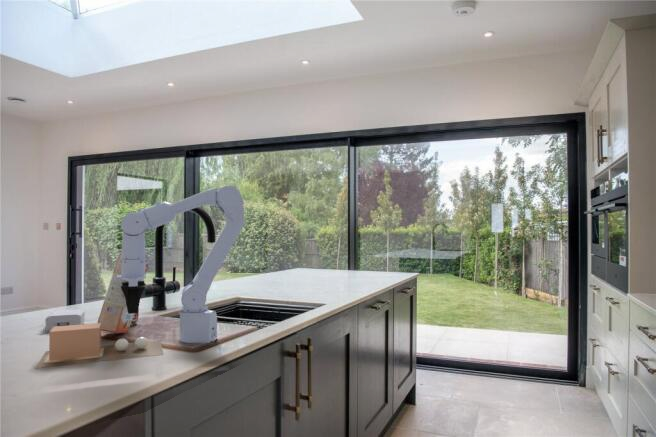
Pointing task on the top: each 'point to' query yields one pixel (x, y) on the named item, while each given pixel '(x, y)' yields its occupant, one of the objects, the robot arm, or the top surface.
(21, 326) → the top surface
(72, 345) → the terracotta cover
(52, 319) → the charger
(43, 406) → the top surface
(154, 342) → the walnut board
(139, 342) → the marble
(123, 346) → the marble
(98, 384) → the top surface
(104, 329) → the cracker box
